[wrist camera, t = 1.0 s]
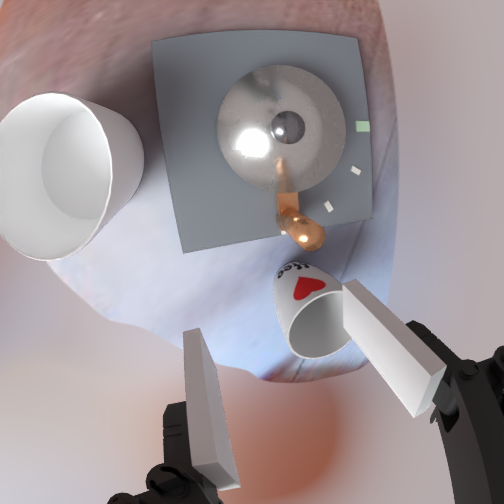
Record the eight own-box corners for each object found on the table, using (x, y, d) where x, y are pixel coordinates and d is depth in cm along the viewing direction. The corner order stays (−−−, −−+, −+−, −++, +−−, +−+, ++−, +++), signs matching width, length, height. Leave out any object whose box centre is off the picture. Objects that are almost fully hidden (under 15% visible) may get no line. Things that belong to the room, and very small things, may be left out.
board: (153, 47, 21) (150, 41, 19) (348, 42, 25) (358, 37, 23) (183, 246, 30) (183, 254, 28) (363, 214, 33) (372, 219, 31)
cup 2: (328, 251, 34) (372, 289, 25) (315, 307, 37) (349, 354, 28) (265, 248, 32) (296, 291, 23) (257, 309, 35) (280, 363, 26)
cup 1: (34, 192, 24) (-30, 222, 13) (74, 94, 21) (16, 73, 10) (117, 235, 28) (81, 288, 17) (165, 135, 25) (147, 128, 15)
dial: (208, 75, 22) (214, 55, 16) (326, 72, 24) (361, 58, 18) (230, 238, 28) (242, 265, 22) (338, 219, 30) (371, 238, 24)
